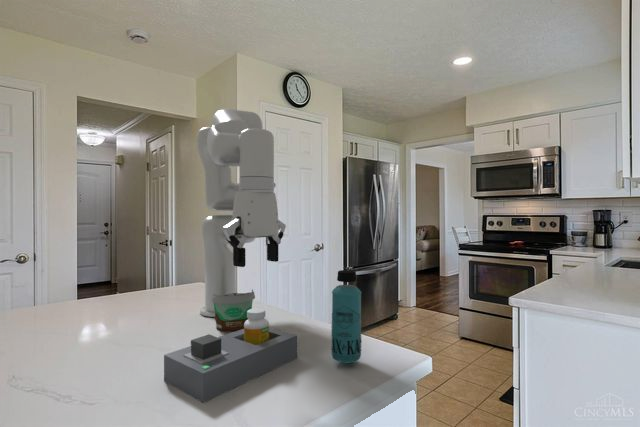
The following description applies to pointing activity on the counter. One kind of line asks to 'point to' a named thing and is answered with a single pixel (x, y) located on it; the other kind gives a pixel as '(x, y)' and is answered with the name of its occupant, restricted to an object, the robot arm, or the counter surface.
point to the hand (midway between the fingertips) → (256, 263)
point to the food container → (232, 310)
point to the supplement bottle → (256, 327)
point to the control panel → (226, 362)
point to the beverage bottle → (346, 319)
